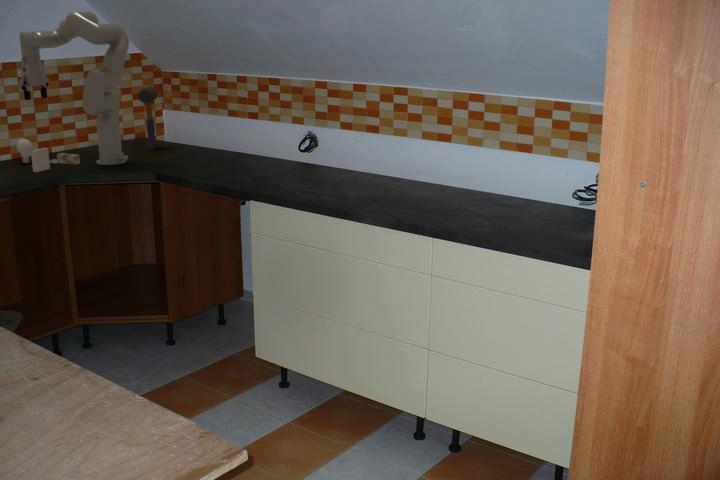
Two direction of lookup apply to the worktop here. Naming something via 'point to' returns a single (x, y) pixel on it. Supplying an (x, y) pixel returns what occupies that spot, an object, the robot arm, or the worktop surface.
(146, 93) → the rubber mallet
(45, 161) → the tile
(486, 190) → the worktop surface
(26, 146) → the lightbulb
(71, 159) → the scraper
